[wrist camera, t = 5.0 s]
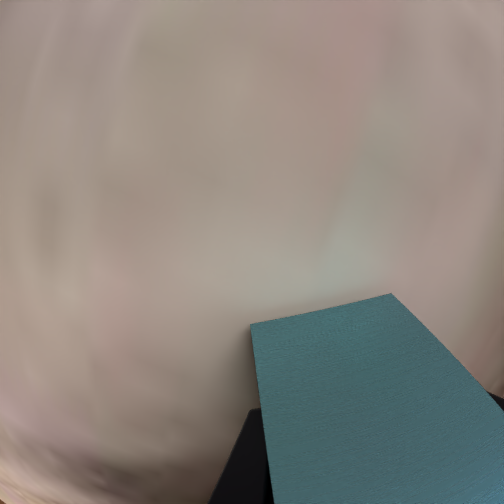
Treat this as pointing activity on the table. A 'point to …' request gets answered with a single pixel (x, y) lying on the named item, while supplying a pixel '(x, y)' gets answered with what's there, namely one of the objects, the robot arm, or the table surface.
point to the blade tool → (373, 411)
